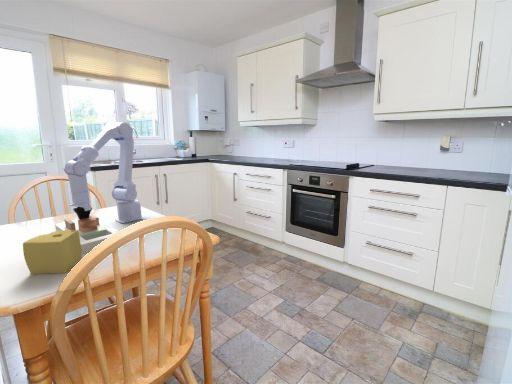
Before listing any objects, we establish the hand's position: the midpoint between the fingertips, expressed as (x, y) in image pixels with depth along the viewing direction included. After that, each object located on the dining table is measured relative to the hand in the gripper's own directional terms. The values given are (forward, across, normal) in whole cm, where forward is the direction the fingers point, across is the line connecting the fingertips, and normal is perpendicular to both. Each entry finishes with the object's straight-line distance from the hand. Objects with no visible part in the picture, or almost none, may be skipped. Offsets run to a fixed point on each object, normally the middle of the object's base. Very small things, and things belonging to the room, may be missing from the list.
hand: (84, 224), depth 111 cm
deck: (+4, +2, 0) cm, 4 cm away
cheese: (+4, +24, -15) cm, 28 cm away
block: (+1, +4, 0) cm, 4 cm away
